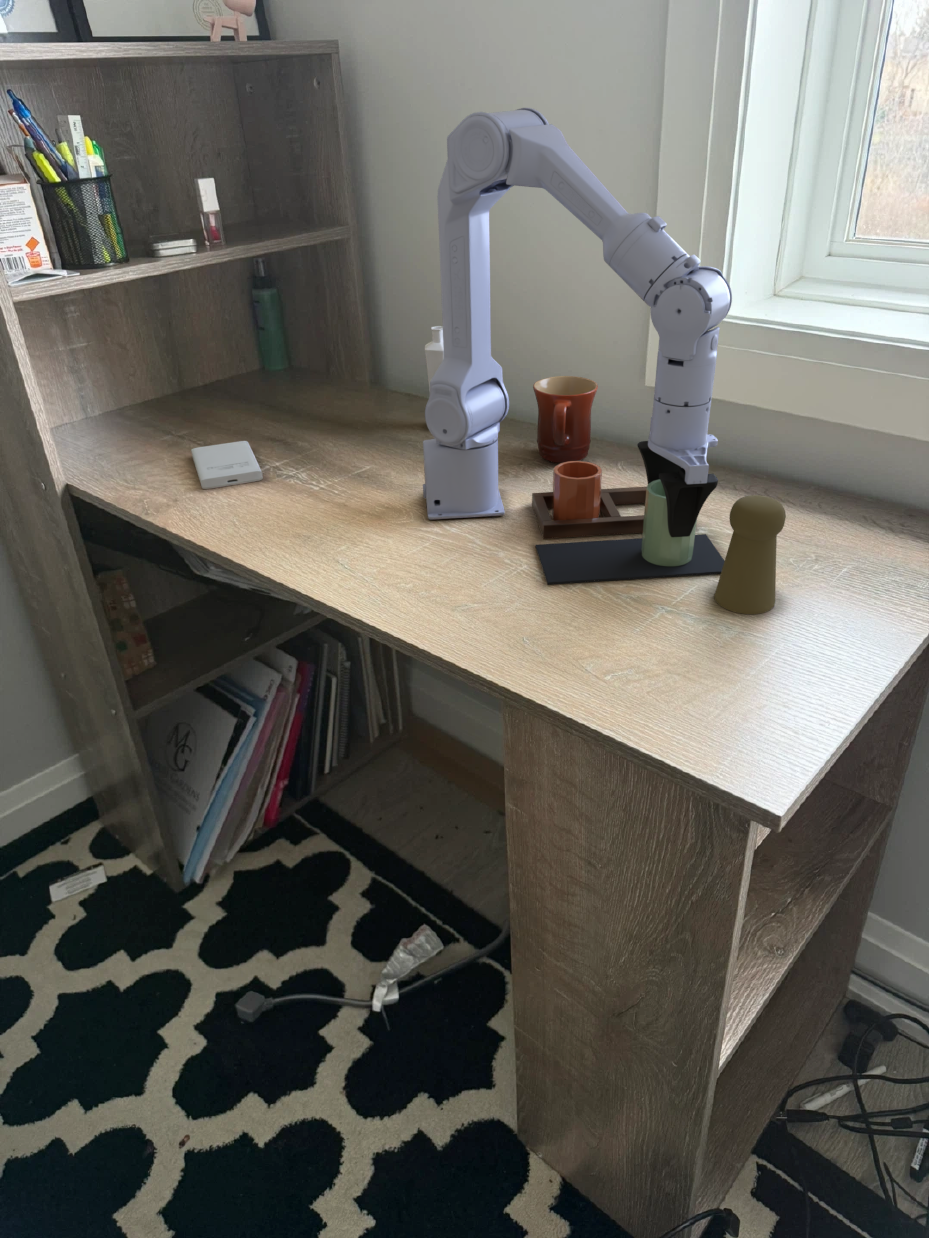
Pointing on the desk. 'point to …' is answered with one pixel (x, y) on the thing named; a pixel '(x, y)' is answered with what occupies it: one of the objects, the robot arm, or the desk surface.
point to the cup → (662, 532)
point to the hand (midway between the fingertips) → (669, 520)
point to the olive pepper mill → (751, 556)
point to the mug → (564, 417)
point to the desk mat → (619, 561)
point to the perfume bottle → (434, 352)
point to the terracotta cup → (576, 490)
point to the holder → (592, 526)
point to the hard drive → (226, 464)
